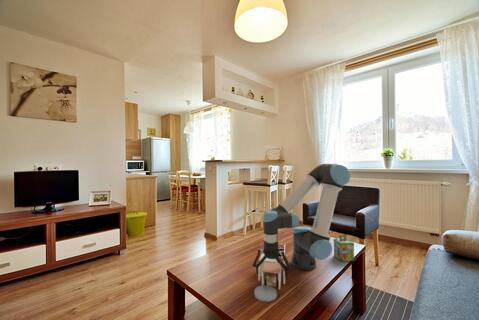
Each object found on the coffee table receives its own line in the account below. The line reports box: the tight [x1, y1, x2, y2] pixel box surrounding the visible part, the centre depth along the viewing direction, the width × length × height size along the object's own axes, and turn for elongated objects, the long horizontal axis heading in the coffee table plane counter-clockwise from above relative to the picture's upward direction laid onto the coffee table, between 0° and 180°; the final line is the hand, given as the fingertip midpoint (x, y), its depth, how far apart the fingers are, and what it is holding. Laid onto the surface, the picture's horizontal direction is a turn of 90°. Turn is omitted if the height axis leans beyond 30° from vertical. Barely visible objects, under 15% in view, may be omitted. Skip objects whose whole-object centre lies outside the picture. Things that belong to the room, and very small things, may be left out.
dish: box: [253, 284, 278, 303], centre depth 104 cm, size 11×11×1 cm
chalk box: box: [333, 234, 355, 262], centre depth 140 cm, size 9×9×15 cm
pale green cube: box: [258, 253, 278, 277], centre depth 124 cm, size 9×9×9 cm
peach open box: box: [261, 262, 282, 291], centre depth 113 cm, size 9×9×9 cm
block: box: [265, 272, 278, 288], centre depth 113 cm, size 5×5×5 cm
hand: (271, 281), depth 113 cm, fingers open, 12 cm apart
